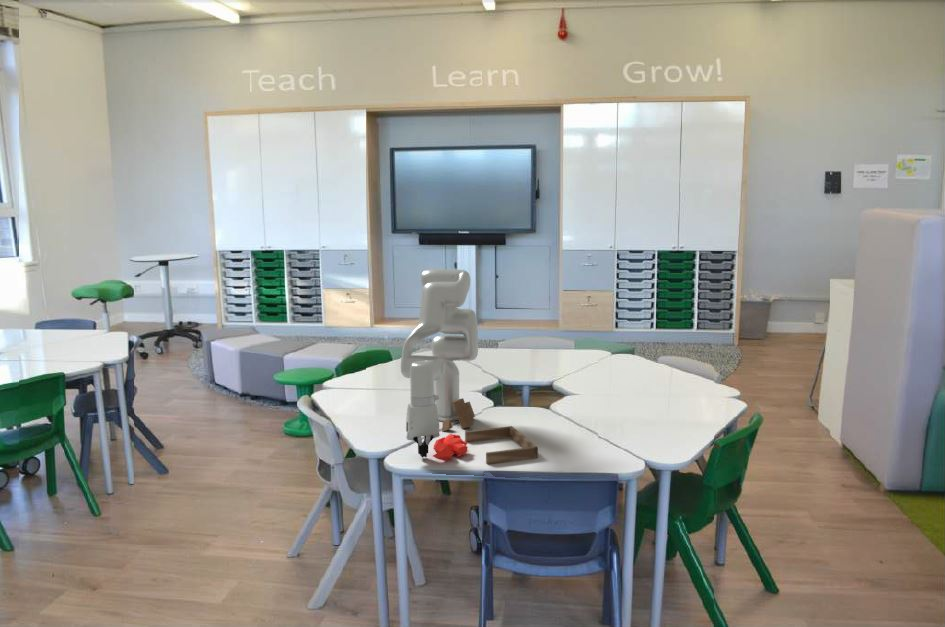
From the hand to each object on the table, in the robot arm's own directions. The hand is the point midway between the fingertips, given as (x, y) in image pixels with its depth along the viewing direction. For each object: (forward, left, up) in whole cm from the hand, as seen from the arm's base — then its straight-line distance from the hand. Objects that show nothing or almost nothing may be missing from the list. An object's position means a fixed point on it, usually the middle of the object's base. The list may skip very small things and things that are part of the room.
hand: (423, 455), depth 223 cm
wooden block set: (-27, +22, -1) cm, 35 cm away
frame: (0, +26, -1) cm, 26 cm away
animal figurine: (0, +9, -1) cm, 9 cm away
